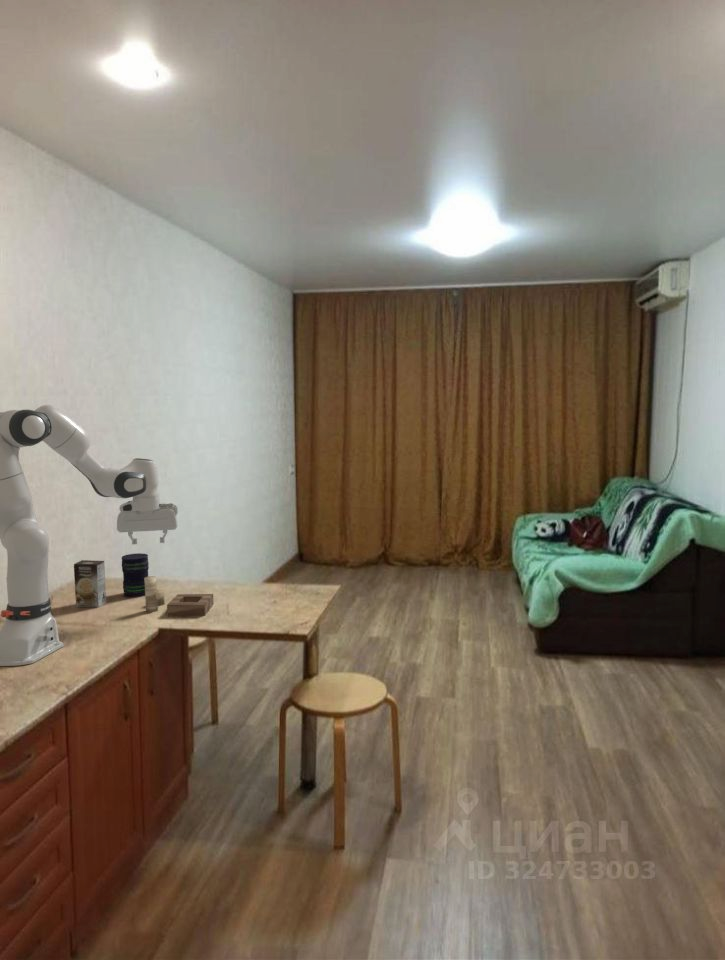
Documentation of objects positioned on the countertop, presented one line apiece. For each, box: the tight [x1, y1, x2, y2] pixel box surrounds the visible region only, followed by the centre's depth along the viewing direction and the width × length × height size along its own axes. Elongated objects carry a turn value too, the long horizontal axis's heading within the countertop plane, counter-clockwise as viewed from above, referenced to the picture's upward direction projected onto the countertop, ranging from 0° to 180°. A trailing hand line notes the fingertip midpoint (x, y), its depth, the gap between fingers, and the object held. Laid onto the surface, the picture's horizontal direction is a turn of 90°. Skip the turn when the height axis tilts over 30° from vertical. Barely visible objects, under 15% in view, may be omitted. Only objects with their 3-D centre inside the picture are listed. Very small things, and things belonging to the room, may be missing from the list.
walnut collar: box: [166, 593, 215, 617], centre depth 243 cm, size 13×13×4 cm
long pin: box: [144, 575, 159, 613], centre depth 243 cm, size 4×4×12 cm
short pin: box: [157, 588, 166, 607], centre depth 251 cm, size 4×4×5 cm
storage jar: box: [121, 552, 150, 598], centre depth 265 cm, size 10×10×15 cm
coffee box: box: [73, 559, 107, 608], centre depth 251 cm, size 9×6×16 cm
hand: (148, 543), depth 241 cm, fingers open, 8 cm apart
